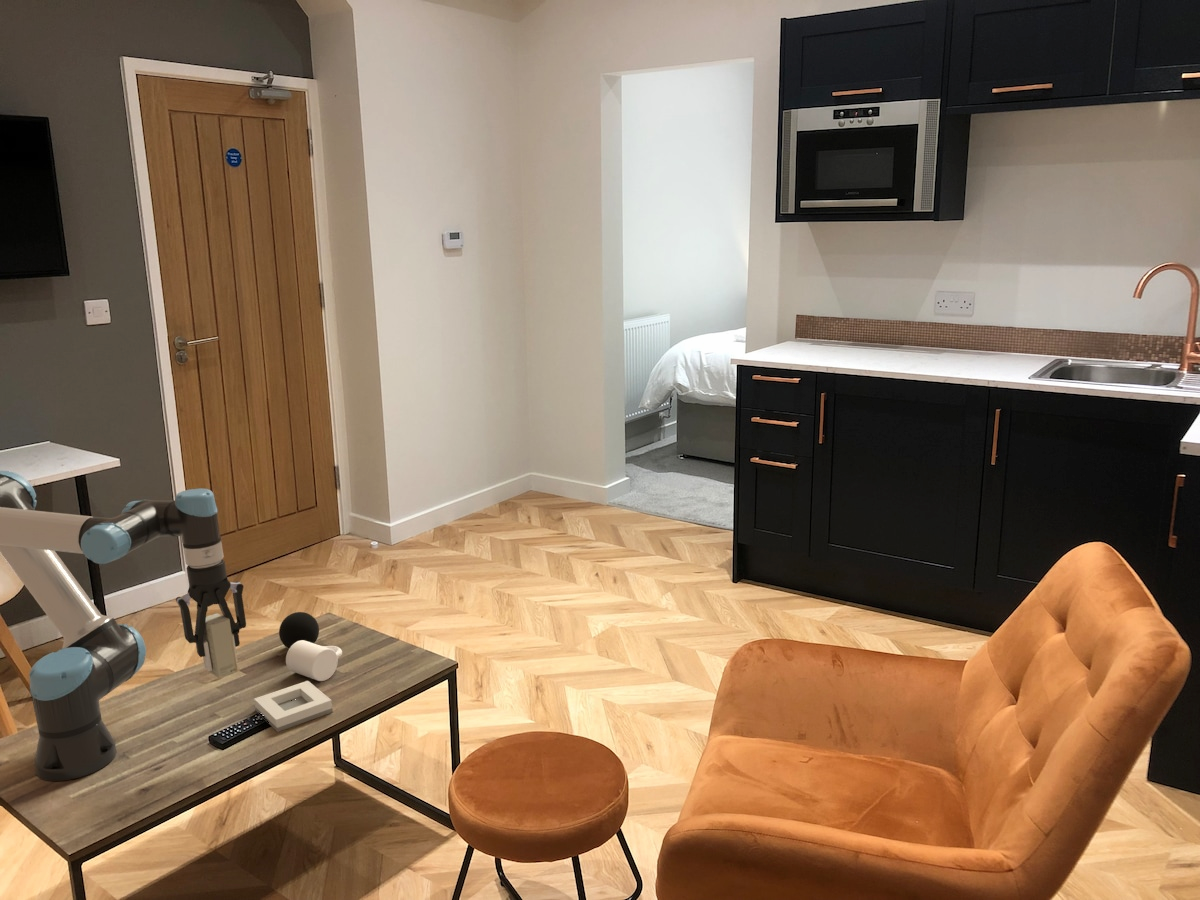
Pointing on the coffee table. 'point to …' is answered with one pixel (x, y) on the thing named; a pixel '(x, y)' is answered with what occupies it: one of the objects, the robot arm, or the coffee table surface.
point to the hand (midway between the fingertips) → (221, 664)
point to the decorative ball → (298, 629)
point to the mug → (313, 660)
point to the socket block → (293, 705)
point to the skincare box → (220, 645)
